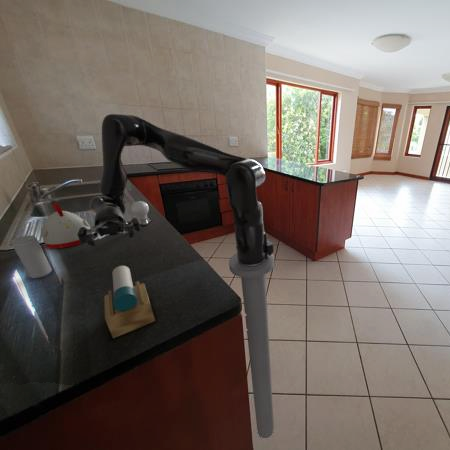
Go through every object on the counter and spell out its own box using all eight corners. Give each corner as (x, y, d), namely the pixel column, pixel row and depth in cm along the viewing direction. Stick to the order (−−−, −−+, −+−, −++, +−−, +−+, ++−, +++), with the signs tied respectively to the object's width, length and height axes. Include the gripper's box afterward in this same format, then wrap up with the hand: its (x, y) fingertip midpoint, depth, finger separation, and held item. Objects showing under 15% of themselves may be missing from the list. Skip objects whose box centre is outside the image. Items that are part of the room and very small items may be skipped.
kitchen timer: (49, 252, 83) (31, 212, 77) (42, 241, 91) (24, 204, 85) (98, 238, 94) (85, 202, 88) (87, 229, 101) (75, 195, 95)
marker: (114, 281, 61) (109, 268, 59) (132, 275, 63) (128, 262, 61) (116, 314, 50) (110, 298, 48) (139, 306, 52) (134, 291, 50)
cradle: (149, 300, 62) (143, 279, 59) (155, 321, 55) (148, 299, 53) (111, 313, 57) (102, 292, 55) (113, 338, 51) (103, 315, 48)
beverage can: (53, 268, 74) (37, 233, 70) (51, 275, 71) (33, 239, 66) (32, 273, 72) (13, 238, 67) (28, 281, 68) (8, 244, 64)
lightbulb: (141, 228, 103) (134, 204, 98) (133, 225, 105) (126, 202, 101) (155, 223, 108) (150, 200, 103) (147, 221, 110) (141, 198, 106)
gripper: (76, 213, 71) (72, 232, 59) (133, 205, 79) (139, 220, 67) (85, 236, 74) (82, 258, 62) (138, 225, 82) (145, 243, 70)
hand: (112, 238), depth 65 cm, fingers open, 8 cm apart
